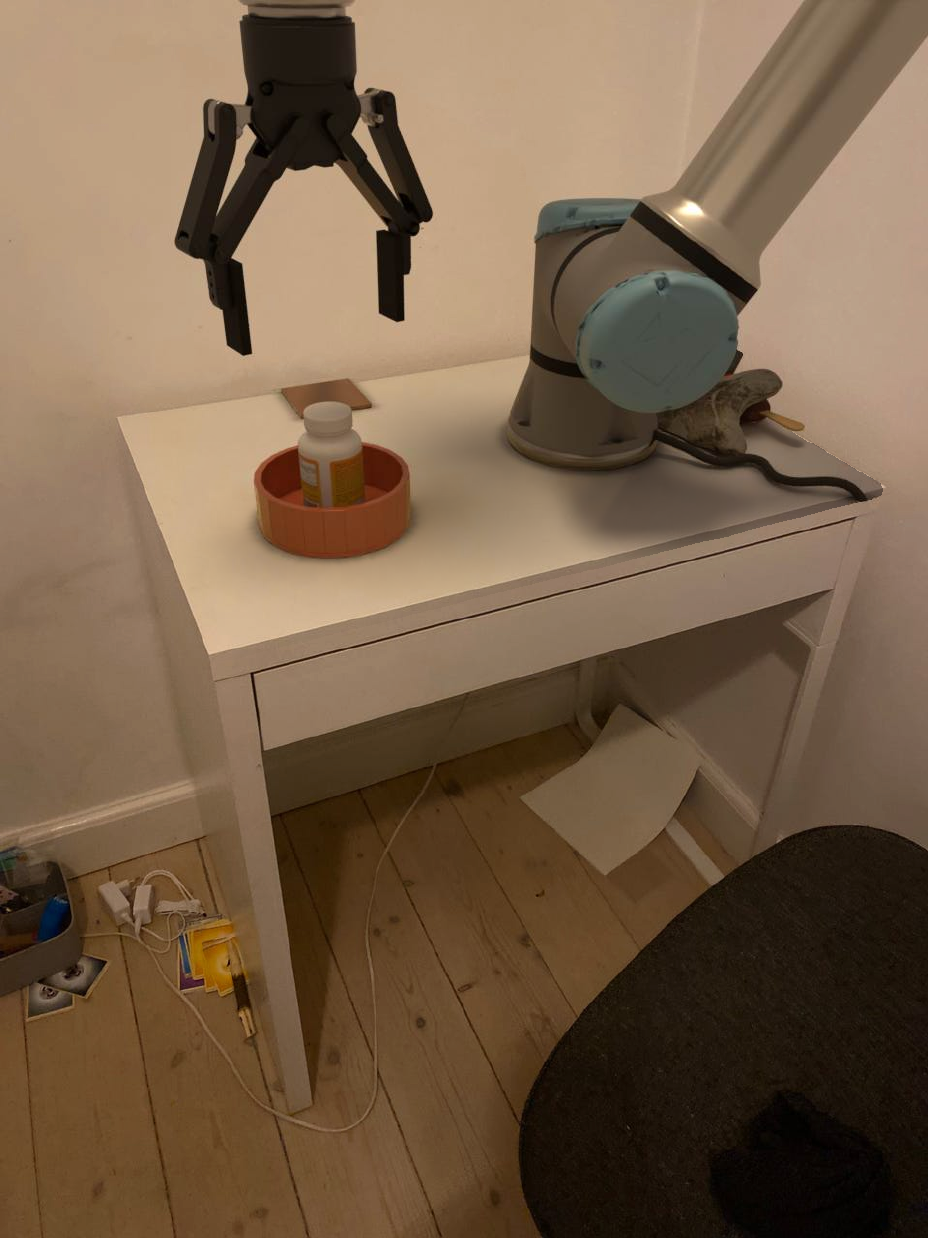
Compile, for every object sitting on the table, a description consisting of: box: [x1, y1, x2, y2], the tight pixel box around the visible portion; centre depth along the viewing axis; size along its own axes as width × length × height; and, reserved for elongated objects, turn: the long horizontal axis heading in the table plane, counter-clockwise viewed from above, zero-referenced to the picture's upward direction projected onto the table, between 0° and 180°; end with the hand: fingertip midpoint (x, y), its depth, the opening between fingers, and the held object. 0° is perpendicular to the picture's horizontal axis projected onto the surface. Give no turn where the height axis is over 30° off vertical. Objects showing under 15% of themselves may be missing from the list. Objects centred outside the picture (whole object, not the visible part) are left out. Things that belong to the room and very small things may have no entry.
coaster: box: [280, 377, 373, 419], centre depth 106 cm, size 8×8×1 cm
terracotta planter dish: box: [253, 441, 412, 559], centre depth 83 cm, size 13×13×4 cm
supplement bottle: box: [297, 402, 365, 508], centre depth 81 cm, size 5×5×10 cm
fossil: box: [656, 368, 784, 455], centre depth 100 cm, size 11×5×15 cm
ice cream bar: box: [739, 399, 805, 432], centre depth 101 cm, size 3×5×15 cm
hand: (319, 333), depth 74 cm, fingers open, 13 cm apart
